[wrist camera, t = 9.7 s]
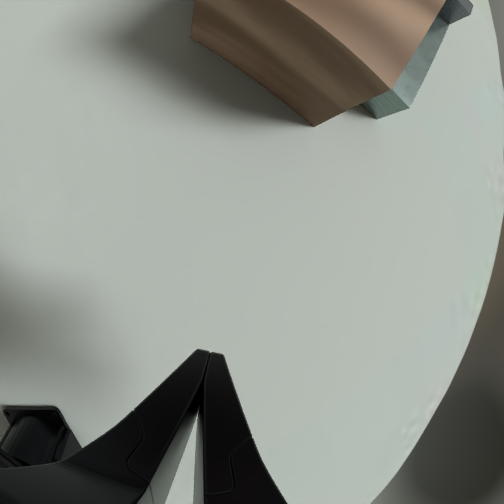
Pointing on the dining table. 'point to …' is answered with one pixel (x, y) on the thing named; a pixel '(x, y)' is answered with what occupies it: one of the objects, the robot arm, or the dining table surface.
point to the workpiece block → (316, 46)
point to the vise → (418, 62)
